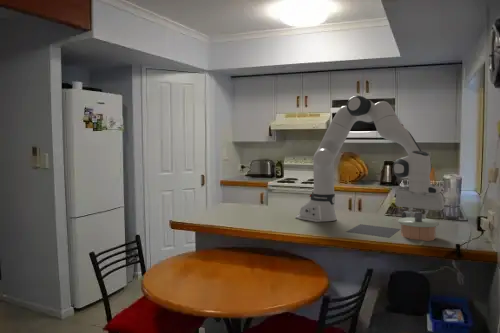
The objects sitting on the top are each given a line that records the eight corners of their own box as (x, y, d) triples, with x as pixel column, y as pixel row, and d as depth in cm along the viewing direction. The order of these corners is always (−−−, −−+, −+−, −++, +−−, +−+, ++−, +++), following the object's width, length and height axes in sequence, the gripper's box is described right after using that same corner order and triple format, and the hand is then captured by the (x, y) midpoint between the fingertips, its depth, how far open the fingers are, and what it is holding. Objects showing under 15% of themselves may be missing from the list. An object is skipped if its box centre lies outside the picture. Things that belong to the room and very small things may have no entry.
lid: (393, 224, 182) (394, 213, 182) (403, 217, 196) (403, 207, 196) (435, 229, 173) (435, 217, 173) (442, 221, 187) (442, 211, 187)
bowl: (398, 238, 183) (398, 224, 183) (405, 232, 195) (406, 219, 194) (431, 242, 175) (432, 228, 175) (437, 235, 187) (438, 222, 186)
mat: (345, 232, 193) (346, 231, 193) (360, 225, 210) (360, 224, 210) (389, 238, 182) (389, 237, 182) (400, 230, 199) (400, 229, 199)
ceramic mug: (422, 228, 203) (423, 212, 203) (406, 228, 203) (406, 212, 203) (414, 223, 214) (414, 209, 213) (398, 223, 214) (398, 209, 213)
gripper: (393, 186, 187) (392, 216, 188) (442, 189, 175) (441, 222, 176) (397, 185, 192) (396, 214, 193) (445, 188, 180) (444, 219, 181)
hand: (418, 218), depth 184 cm, fingers closed on lid, 3 cm apart
